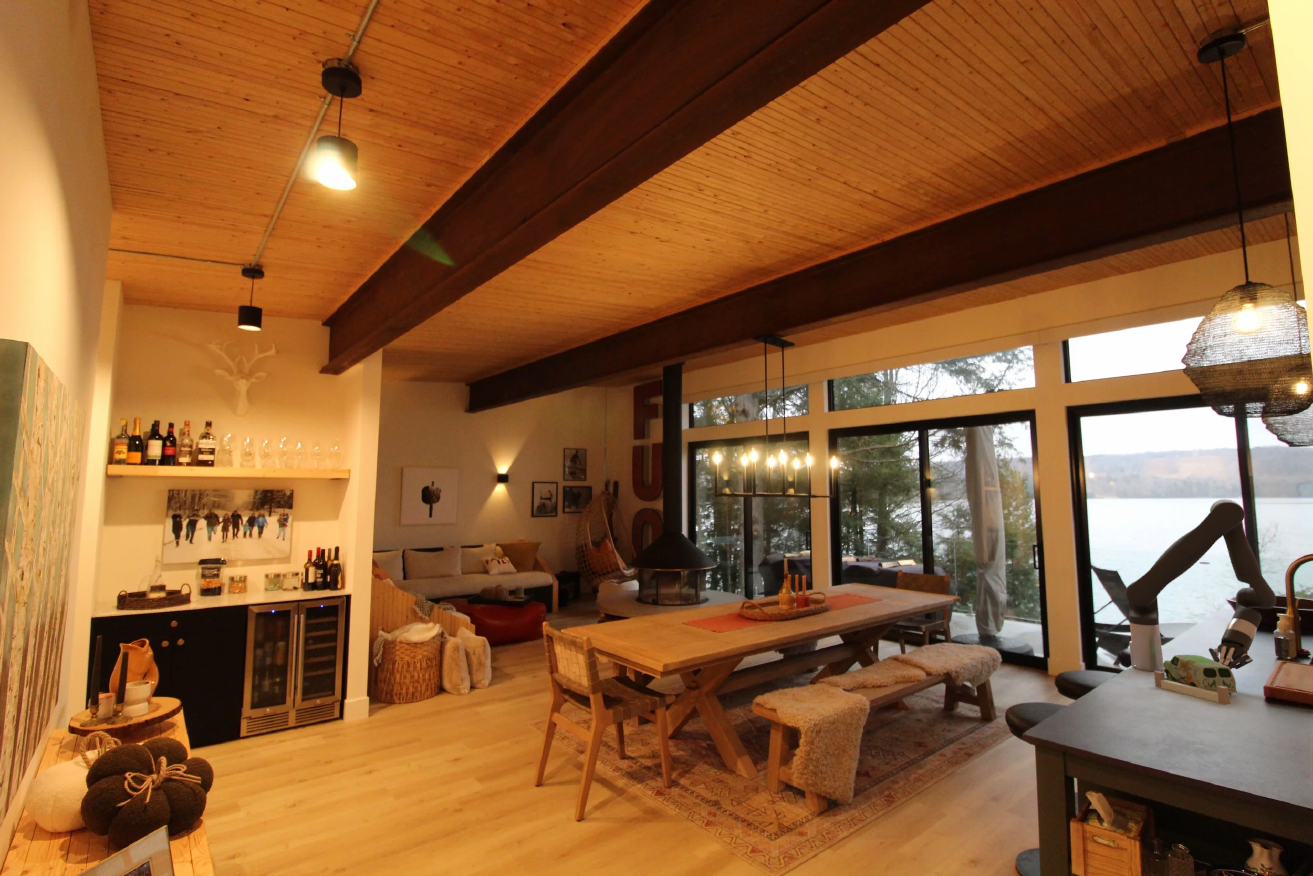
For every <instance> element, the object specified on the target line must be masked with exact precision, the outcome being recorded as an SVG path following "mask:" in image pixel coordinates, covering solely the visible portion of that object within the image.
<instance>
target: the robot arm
mask: <svg viewBox="0 0 1313 876" xmlns="http://www.w3.org/2000/svg"><path fill="white" fill-rule="evenodd" d="M1245 516H1246V513H1245V510H1244V508H1243V507H1242V506H1241V505H1240V504H1239V503H1237V502H1236V501H1234V500H1231V499H1225V498H1224V499H1219V500H1217V501H1215V502H1213V503H1212V505H1211V506H1210V508H1209V513H1208V514H1207V516H1206V517H1205V518H1204V519H1203V520H1202V521H1201V522H1200V523H1199V524H1198V525H1197V526H1196V527H1195V528H1193V529H1192V530H1190V531H1189V532H1186V533H1185V534H1184V535H1182V536H1181V537H1179V538H1178V539H1177V540H1176V541H1174V542H1173V543H1172V544H1171V545H1170V546H1169V547H1168V548H1167V549H1166V550H1165V551H1163V553H1162V554H1161V555H1160V556H1159V558H1157V560H1156V561H1155V563H1154V564H1153V565H1152V566H1151V568H1150V569H1149V570H1148V571H1146V572H1145V573H1144V574H1143V575H1142V576H1141V577H1139V578H1138V579H1137V580H1135V581H1133V582H1131V583H1130V584H1129V585H1128V586H1127V587H1126V589H1125V597H1126V600H1127V601H1128V607H1129V608H1128V609H1129V611H1128V619H1129V629H1130V637H1131V639H1130V640H1129V642H1128V643H1129V653H1130V661H1131V662H1130V663H1131V664H1130V665H1131V667H1133V666H1134V665H1136V666H1134V667H1133V668H1135V669H1138V670H1141V671H1147V672H1155V671H1160V672H1164V665H1163V663H1164V658H1163V650H1162V649H1163V648H1162V638H1161V631H1160V619H1159V604H1158V595H1159V594H1160V593H1161V592H1162V591H1163V590H1164V589H1165V588H1166V587H1167V585H1169V584H1171V582H1173V581H1174V580H1176V579H1177V578H1179V577H1180V576H1183V574H1184V573H1186V572H1187V571H1188V570H1190V569H1191V568H1192V567H1193V566H1194V565H1195V564H1196V563H1198V561H1200V559H1201V558H1203V557H1204V555H1206V553H1207V552H1208V551H1209V550H1211V548H1212V547H1213V545H1215V543H1216V542H1217V541H1219V539H1220V538H1222V537H1223V539H1224V540H1223V541H1224V542H1225V545H1226V548H1227V552H1228V553H1227V554H1228V556H1229V557H1228V558H1229V560H1230V564H1231V566H1232V569H1233V572H1234V575H1235V577H1236V579H1237V581H1238V582H1240V583H1245V584H1248V585H1249V586H1250V587H1242V588H1239V590H1238V591H1237V592H1236V595H1235V611H1234V614H1233V616H1232V618H1231V620H1229V623H1228V624H1227V626H1226V628H1225V631H1224V633H1223V635H1222V638H1221V640H1220V644H1219V645H1218V646H1217V647H1216V648H1212V647H1209V648H1208V651H1209V654H1210V656H1211V658H1212V660H1213V661H1216V662H1218V663H1221V664H1223V665H1225V666H1227V667H1229V668H1230V669H1231V670H1233V669H1235V670H1238V669H1241V668H1242V667H1244V666H1246V665H1248V664H1250V663H1252V662H1253V661H1254V659H1253V658H1252V657H1251V656H1250V655H1249V654H1248V651H1249V650H1250V648H1251V646H1252V643H1253V642H1254V639H1255V637H1256V636H1257V635H1256V634H1257V630H1258V627H1259V625H1260V624H1261V621H1262V615H1261V613H1260V612H1259V611H1257V610H1256V609H1272V608H1274V607H1275V605H1277V596H1276V594H1275V591H1274V590H1273V589H1272V587H1271V586H1270V585H1269V583H1268V582H1267V581H1266V579H1265V578H1264V577H1263V575H1262V573H1261V569H1260V566H1259V563H1258V561H1257V558H1256V556H1255V553H1254V551H1253V549H1252V547H1251V546H1250V543H1249V540H1248V538H1247V536H1246V533H1245V529H1244V528H1245V527H1244V524H1243V521H1244V519H1245ZM1254 608H1255V609H1254Z"/></svg>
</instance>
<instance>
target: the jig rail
mask: <svg viewBox="0 0 1313 876" xmlns="http://www.w3.org/2000/svg"><path fill="white" fill-rule="evenodd" d="M1153 672H1154V673H1153V675H1154V680H1155V681H1154V683H1155V687H1157V688H1162V689H1164V690H1169V691H1173V692H1177V693H1180V694H1185V695H1188V696H1192V697H1197V698H1200V697H1201V698H1200V699H1203V698H1205V699H1204V700H1206V701H1207V700H1208V701H1212V702H1216V703H1219V704H1223V705H1229V704H1231V700H1230V695H1229V690H1228V687H1224V686H1217V692H1218V693H1217V692H1213V691H1209V690H1205V689H1201V688H1197V687H1193V686H1189V685H1187V684H1185V683H1184V684H1183V683H1180V682H1175V681H1172V680H1169V679H1168V680H1167V679H1165V678H1166V675H1165V672H1164V671H1153Z"/></svg>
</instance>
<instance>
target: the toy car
mask: <svg viewBox="0 0 1313 876" xmlns="http://www.w3.org/2000/svg"><path fill="white" fill-rule="evenodd" d="M1163 665H1164V670H1163V672H1164V673H1165V678H1166V680H1167V679H1168V681H1172V682H1175V680H1177V681H1179V682H1181V683H1182V684H1183V683H1184V685H1189V686H1193V687H1197V688H1201V689H1205V690H1209V691H1213V692H1217V686H1224V687H1228V690H1229V696H1230V695H1232V694H1237V693H1238V690H1237V683H1236V678H1235V676H1234V674H1233V671H1232V669H1230V668H1229V667H1227V666H1225V665H1223V664H1221V663H1218V662H1216V661H1214V660H1213V659H1211V658H1209V657H1206V656H1203V655H1196V654H1175V655H1173V657H1172V658H1171V660H1164V661H1163ZM1217 693H1218V692H1217Z"/></svg>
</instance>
